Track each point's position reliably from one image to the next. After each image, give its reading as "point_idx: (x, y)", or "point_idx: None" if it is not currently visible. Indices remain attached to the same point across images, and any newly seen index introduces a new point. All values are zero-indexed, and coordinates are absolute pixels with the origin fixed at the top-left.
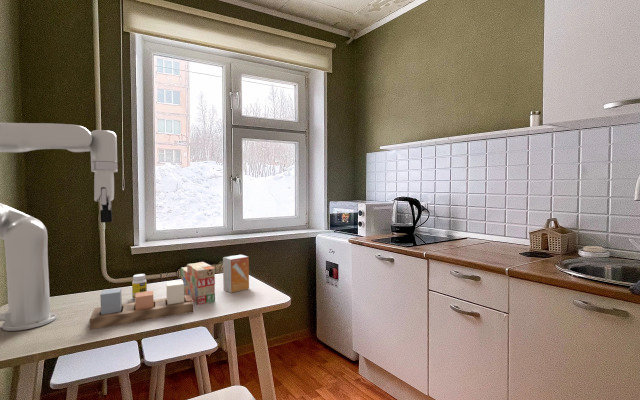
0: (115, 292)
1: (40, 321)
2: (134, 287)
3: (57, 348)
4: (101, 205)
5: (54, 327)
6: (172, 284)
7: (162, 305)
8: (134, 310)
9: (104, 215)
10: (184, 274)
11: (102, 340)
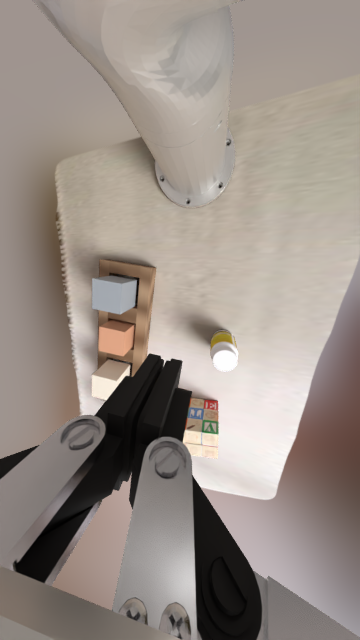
0: (93, 302)
1: (166, 183)
2: (215, 340)
3: (61, 222)
4: (13, 478)
5: (145, 210)
6: (97, 383)
7: (108, 353)
8: (106, 318)
9: (113, 401)
10: (191, 423)
11: (63, 272)
